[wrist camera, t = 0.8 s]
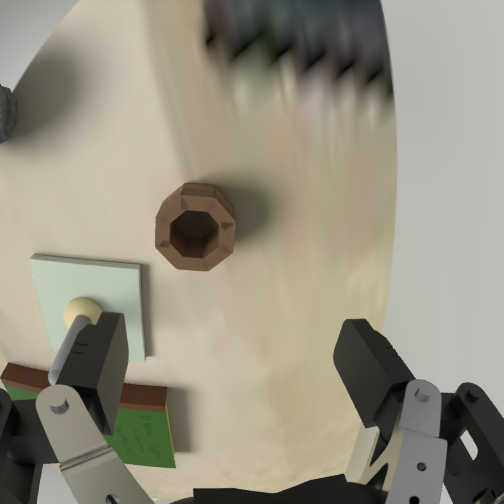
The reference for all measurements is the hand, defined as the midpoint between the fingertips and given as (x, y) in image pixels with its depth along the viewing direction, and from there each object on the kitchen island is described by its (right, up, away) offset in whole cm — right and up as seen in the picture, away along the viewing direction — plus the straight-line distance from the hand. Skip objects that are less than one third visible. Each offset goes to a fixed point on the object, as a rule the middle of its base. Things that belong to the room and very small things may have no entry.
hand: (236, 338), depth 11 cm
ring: (-4, +6, +16) cm, 18 cm away
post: (-17, -3, +19) cm, 25 cm away
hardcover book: (-24, -21, +27) cm, 42 cm away
